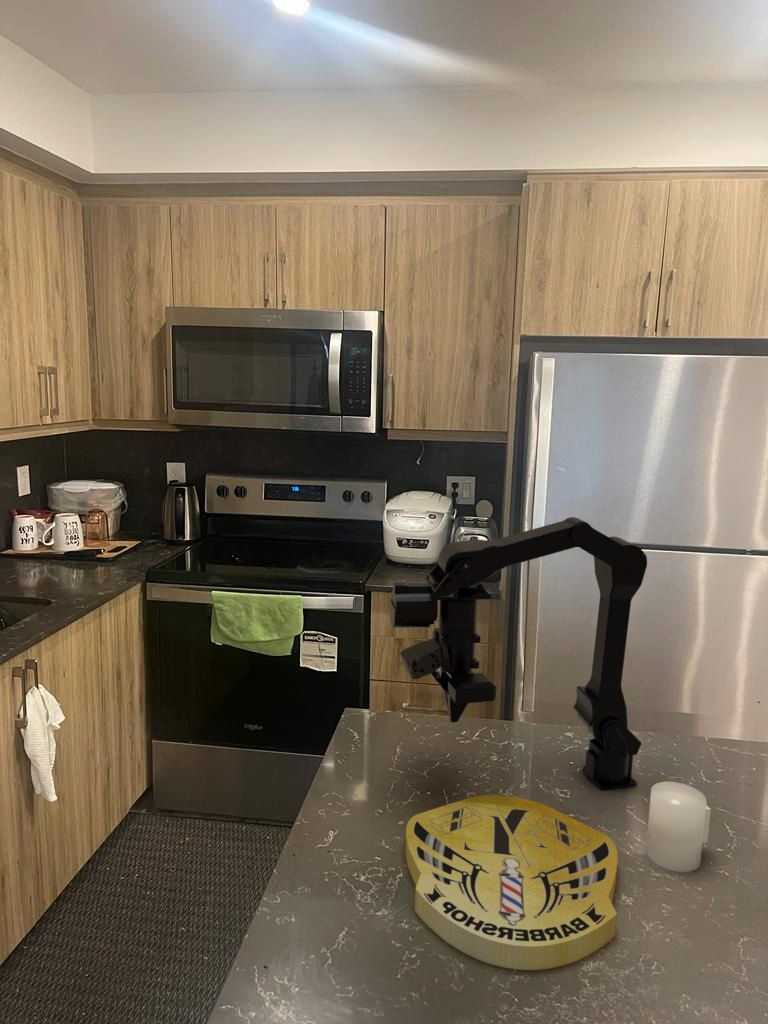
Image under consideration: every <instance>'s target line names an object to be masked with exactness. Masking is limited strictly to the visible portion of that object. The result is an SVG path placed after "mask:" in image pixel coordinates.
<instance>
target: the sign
mask: <svg viewBox="0 0 768 1024" xmlns="http://www.w3.org/2000/svg"><path fill="white" fill-rule="evenodd" d="M618 857H619V856H618V851H617V847H616V845H615V842H614V841H613V840H612V839H611V837H610V836H608V835H607V834H605V833H603V832H601V831H600V830H597V829H596V828H593V827H591V826H589V825H587V824H585V823H582V822H580V821H579V820H578V819H577V820H576V819H575V818H572V817H571V816H568V815H566V814H564V813H562V812H561V811H558V810H556V809H554V808H552V807H550V806H548V805H545V804H543V803H540V802H538V801H534V800H530V799H526V798H522V797H517V796H510V795H500V794H499V795H497V794H496V795H495V794H494V795H493V794H490V795H479V796H473V797H472V796H471V797H468V798H464V799H461V800H458V801H455V802H452V803H451V802H450V803H449V804H444V805H442V806H440V807H436V808H433V809H430V810H426V811H424V812H419V813H418V814H415V815H413V816H412V817H410V819H409V820H408V822H407V824H406V827H405V859H406V865H407V867H408V871H409V873H410V875H411V876H410V877H411V879H412V881H413V884H414V885H415V897H414V898H415V900H414V912H415V913H416V914H417V915H418V917H419V918H420V919H421V920H422V921H423V923H425V924H426V926H427V927H429V929H431V931H433V932H434V933H435V934H436V935H438V936H439V938H441V939H442V940H444V941H445V942H446V943H447V944H449V945H450V946H452V947H454V948H455V949H457V950H459V951H461V953H464V954H466V955H467V956H469V957H470V958H471V957H472V958H474V959H476V960H478V961H481V962H483V963H486V964H489V965H493V966H496V967H499V968H505V969H509V970H518V971H522V970H523V971H542V970H548V969H554V968H559V967H562V966H566V965H569V964H573V963H575V962H577V961H580V960H582V959H584V958H586V957H588V956H590V955H591V954H593V953H595V952H597V951H599V949H601V948H602V947H604V946H605V945H607V944H608V943H609V942H610V941H612V940H613V938H615V937H616V930H617V916H618V913H617V911H616V909H615V907H614V905H613V899H614V895H615V890H616V883H617V871H618V870H617V869H618V861H619V859H618Z"/></svg>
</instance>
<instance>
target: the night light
mask: <svg viewBox="0 0 768 1024" xmlns="http://www.w3.org/2000/svg"><path fill="white" fill-rule="evenodd" d="M707 801H708V800H707V797H706V795H704V794H703V793H702V792H701V791H700V790H698V789H697V788H695V787H694V786H690V785H689V784H685V783H682V782H677V781H676V782H675V781H662V782H657V783H655V784H653V785H652V787H651V789H650V799H649V809H648V810H649V811H648V822H647V832H646V845H645V853H646V855H647V857H648V856H649V857H648V858H649V860H650V861H652V862H653V863H654V862H655V863H654V864H656V865H657V866H659V867H661V868H663V869H665V870H668V871H672V872H677V873H690V872H692V871H696V870H697V869H698V868H699V867H700V865H701V860H702V852H703V851H702V850H703V844H705V843H708V837H709V830H710V821H711V811H712V809H711V808H710V807H709V806H708V804H707Z"/></svg>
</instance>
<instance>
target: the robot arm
mask: <svg viewBox="0 0 768 1024" xmlns="http://www.w3.org/2000/svg"><path fill="white" fill-rule="evenodd" d="M575 548H579V549H581V550H583V551H585V552H586V553H587V554H590V555H591V556H593V560H594V561H593V562H594V563H593V564H594V574H595V578H596V582H597V586H598V590H599V601H598V602H599V603H598V613H597V621H596V630H595V639H594V648H593V649H594V650H593V657H592V667H591V676H590V679H589V680H588V682H587V684H586V685H585V686H581V685H577V686H576V692H575V693H576V701H575V703H574V706H573V710H575V711H576V714H577V717H578V719H579V720H580V722H581V723H582V724H583V725H584V726H585V727H586V729H587V732H589V734H591V735H592V736H593V737H594V738H592V739H589V744H588V745H589V746H588V749H587V750H586V753H585V754H586V755H585V764H584V765H585V766H582V768H581V769H582V772H584V774H585V775H586V776H587V777H588V778H589V779H590V780H591V781H592V782H593V783H594V784H595V785H596V786H597V787H598V788H599V789H601V790H603V791H604V790H610V789H611V790H612V789H618V788H620V789H621V788H627V787H635V786H637V785H638V783H637V782H638V781H636V779H634V778H633V777H632V774H633V761H634V756H637V755H638V753H639V751H640V748H641V746H642V742H641V741H640V740H639V738H637V736H636V735H635V734H634V733H633V732H632V731H630V730H629V728H628V723H629V721H628V709H627V704H626V701H625V695H624V692H623V688H622V682H623V672H624V664H625V658H626V657H625V656H626V649H627V639H628V630H629V622H630V614H631V606H632V601H633V598H634V597H635V596H636V594H637V592H638V591H639V589H640V587H641V586H642V584H643V581H644V577H645V574H646V570H647V567H648V556H647V554H646V553H645V552H644V550H643V549H642V548H641V547H638V545H636V544H633V543H631V542H629V541H627V540H625V539H623V538H621V537H618V536H607V535H605V534H604V533H602V532H601V531H599V530H597V529H595V528H594V527H592V526H591V524H589V523H588V522H586V521H585V520H582V519H580V518H578V517H574V516H569V517H567V518H565V519H564V520H561V521H558V522H554V523H551V524H546V525H544V526H540V527H537V528H532V529H530V530H525V531H522V532H517V533H514V534H511V535H507V536H502V537H500V538H496V539H486V540H484V539H483V540H482V539H470V540H459V541H452V542H450V543H446V545H444V546H443V547H442V549H441V550H440V553H439V555H438V558H437V563H436V564H435V565H434V566H433V568H432V569H431V570H430V571H429V572H428V574H427V575H426V576H425V578H424V582H403V581H394V582H393V583H392V584H393V585H392V591H391V595H390V599H389V620H390V621H389V622H390V626H391V628H392V629H404V628H405V629H407V628H409V629H412V628H430V627H431V625H435V621H437V620H438V627H434V630H433V631H432V638H430V639H428V640H424V641H421V642H418V643H416V644H413V645H411V646H409V647H407V648H404V649H402V650H401V651H400V657H401V659H402V663H403V666H404V668H405V669H404V670H405V671H406V672H407V674H408V675H409V677H410V678H411V679H412V680H419V679H421V678H423V677H426V676H429V675H431V676H432V677H433V678H434V680H435V681H436V682H437V683H438V685H439V686H440V688H441V689H442V690H441V691H442V693H443V697H444V701H445V707H446V710H447V716H448V720H449V721H450V723H458V722H459V720H460V718H461V717H462V715H463V713H464V712H465V710H466V708H467V706H468V705H469V704H474V703H476V704H477V703H486V702H494V701H495V700H496V699H497V686H496V685H495V684H494V683H493V682H492V681H491V680H490V679H489V678H488V677H487V676H486V675H485V674H484V673H483V672H476V671H475V669H480V661H479V659H478V660H477V658H476V644H478V643H479V644H480V643H481V635H480V634H479V633H478V632H477V618H478V601H479V600H480V601H481V600H482V601H484V600H491V599H492V595H491V593H490V592H489V591H488V590H487V589H486V588H485V587H484V585H483V583H482V582H483V581H484V582H485V581H487V580H488V579H490V578H491V577H493V576H494V575H495V574H496V573H497V572H499V571H500V570H502V569H505V568H507V567H510V566H514V565H517V564H521V563H524V562H529V561H531V560H534V559H538V558H543V557H546V556H549V555H553V554H556V553H560V552H561V553H562V552H563V551H568V550H572V549H575ZM438 601H439V602H438ZM438 605H439V607H438ZM438 609H439V610H438Z"/></svg>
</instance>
